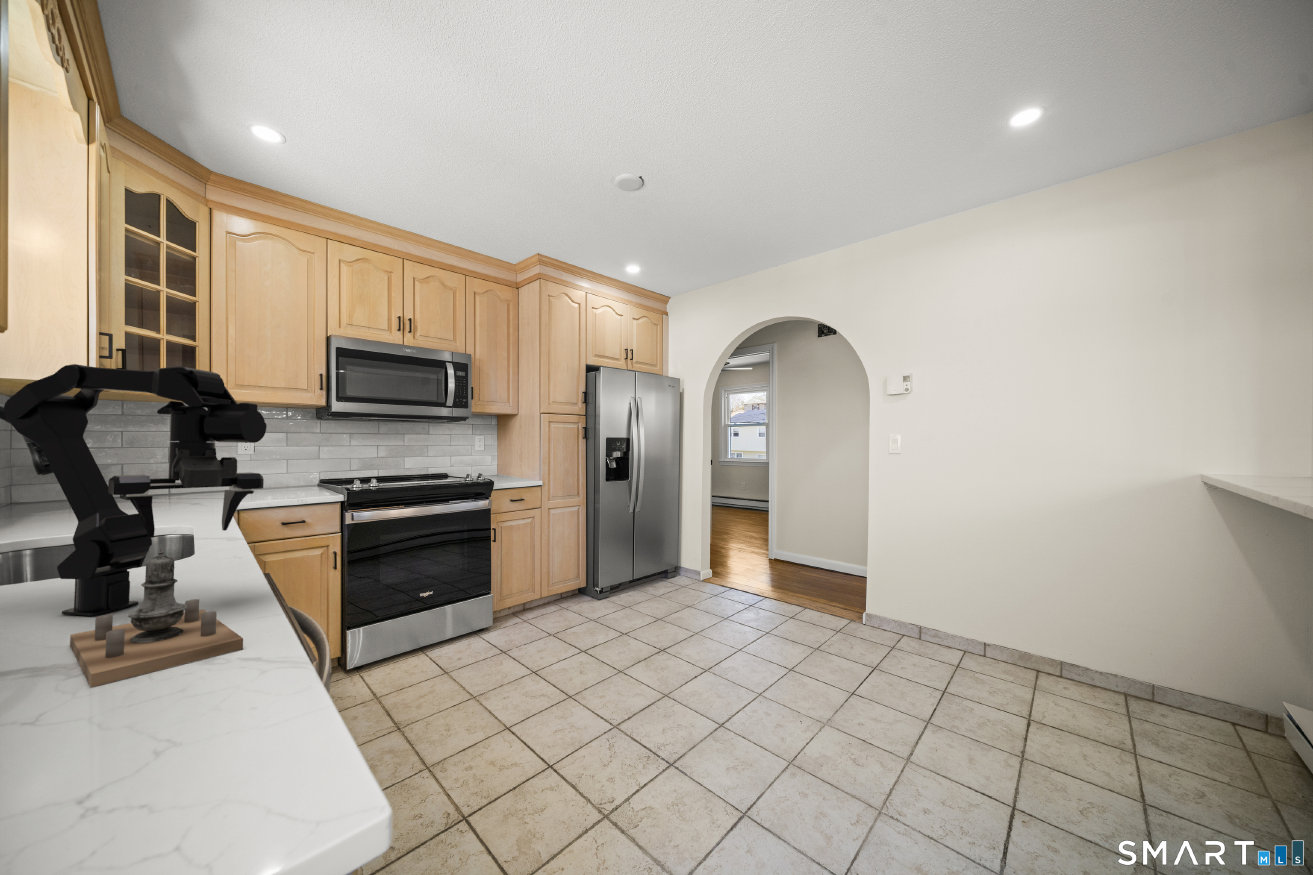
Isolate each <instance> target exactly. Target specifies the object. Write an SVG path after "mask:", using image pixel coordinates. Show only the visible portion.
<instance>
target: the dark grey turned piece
mask: <svg viewBox="0 0 1313 875" xmlns="http://www.w3.org/2000/svg"><path fill="white" fill-rule="evenodd" d="M164 553H165V551H164V550H163V549H161V548H160V550H159V551H158V552H157V554H158V555H156V556H154V557H151V558H149V559H148V560H147V561H146V565H145V579H144V580H145V581H144V582H142V583H141V587H143V588H144V589H143V601H142V604H141V605H140V606H139V608H137V609H136V610H132V611H130V612H129V613H128V614H127V617H128V618H130V623H132V625H133V626H134V627H135V628H136V629H138V630H140V631H144V632H141V633H138V634H137V635H135V636H134V637H132V638H131V639H130V642H132V643H149V642H156V641H161V640H166V639H169V638H173V637H176V636H178V635H180V634H182V633H183V629H181V628H178V627H171V626H173V625H175V624H176V623H177V622H179V621H180V620H181V618H182V616H183V614H184V613H185V609H186V608H187V605H186V604H185V603H179V602H177V601H176V600H177V599H176V598H175V584H176V583H177V582H178V579H177V578H175V558H173V557H172V556H170V555H166V554H164Z"/></svg>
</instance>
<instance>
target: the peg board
mask: <svg viewBox="0 0 1313 875" xmlns="http://www.w3.org/2000/svg"><path fill="white" fill-rule="evenodd" d="M184 604H186V605H187V608H186V609H185V610H184V614H183V616H182V618H181V620H180V621H179V622H177V623H176V624H175V625H173V626H171V627H178V628H181V629H183V633H182V634H180V635H178V636H176V637H173V638H169V639H166V640H161V641H156V642H149V643H132V642H130V639H131V638H132V637H134V636H135V635H137V634H138V633H141V632H144V631H140V630H138V629H136V628H135V627H134V626H133V625H132V623H131V622H130V623H124V624H120V625H114V624H113V619H114V615H113V614H111V613H110V614H101V615H97V616H95V621H94V622H95V625H94V629H93V630H92V629H91V630H87V631H82V632H77V633H71V634H70V638H69V639H70V640H69V646H70V648H71V650H72V652H73V654H74V657H75V658H76V661H77V662H78V664H79V667H80V669H81V671H82V673H83V675H84V676H85V679H86V681H87V682H88V684H89V687H90V688H93V687H97V686H98V687H99V686H101V685H106V684H109V683H113V682H118V681H121V680H125V679H126V680H127V679H129V678H130V679H131V678H133V677H138V676H141V675H145V674H149V673H153V672H157V671H162V670H165V669H169V668H174V667H177V666H181V665H185V664H190V663H194V662H198V661H202V660H206V659H209V658H214V657H217V656H221V655H224V654H225V655H226V654H230V653H233V652H237V651H241V650H244V637H242V636H241V635H239V634H238V633H236V632H235V631H234V630H232V629H231V628H230V627H229V626H227V625H225V624H224V623H223V622H221V621H220V620H219V619H218V618H217V613H218V612H217V610H209V611H206V610H205V609H200V599H199V598H195V599H189V600H185V601H184ZM113 625H114V626H113Z"/></svg>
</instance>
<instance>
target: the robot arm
mask: <svg viewBox="0 0 1313 875" xmlns="http://www.w3.org/2000/svg"><path fill="white" fill-rule="evenodd" d="M74 389H78V390H79V391H78V392H77V393H76V394H74V395H69V394H66V393H68V392H70V391H72V390H74ZM105 390H106V391H119V392H133V393H143V394H144V393H145V394H147V393H148V394H153V395H155V396H157V397H160V398H165V399H169V400H170V401H168V403H167V404H166V405H164V406H162V407H160V408H159V409H158V410H156V413H157V414H158V415H164V416H165V415H166V416H168V415H169V416H170V422H169V423H170V425H169V426H170V429H169V433H170V434H169V448H168V449H169V454H168V455H169V456H168V473H167V474H168V476H167V478H166V477H165V478H151V477H150V475H145V474H128V475H127V474H124V475H113V476H112V477H111V478H109V480H108V483H107V481H106V480H105V477H104V475H103V474H102V471H101V470H100V468H99V466H98V463H97V462H96V460H95V457H94V456H93V454H92V451H91V450H90V448H89V446H88V444H87V442H86V440H85V437H84V436H85V434H86V429H87V427H88V425H89V419H88V417H87V414H88V413H89V412H90V411H91V410H93V409H94V408H96V407H97V405H98V401H99V398H100V394H101V393H102V392H103V391H105ZM258 406H259V405H258V404H257V403H250V402H239V403H238V402H237V401H236V399H235V398H234V397H233V396H232V394H231V393H230V391H229V390H228V389H227V387H226V385H225V382H224V380H223V378H222V377H221V375H220V374H219V373H217V372H214V371H208V370H203V369H198V368H191V367H185V366H170V367H162V368H158V369H155V370H139V369H138V370H137V369H124V368H122V369H121V368H110V367H97V366H96V367H95V366H89V365H82V364H76V363H75V364H74V363H73V364H66V365H64V366H62V367H60V368H59V369H58V370H57V371H55V372H54V373H53V374H51V375H48V376H45V377H43V378H40V379H37V380H35V381H33V382H30V383H27V384H26V385H24V386H23V387H22V388H20V389H19V390H18V391H17V392H15V393H14V394H13V395H12V396H11V397H9V398H8V399H7V400H6V402H5V403H4V405H3V413H4V415H5V417H6V419H7V420H8V422H10V424H11V425H12V427H13V428H14V429H15V431H16V432H17V433H18V434H19V435H21V436H23V437H24V438H25V439H27V440H30V441H31V442H32V443H35V445H38V446H39V448H40V449H41V451H42V453H43V455H44V457H45V459H46V461H47V463H48V464H49V467H50V469H51V471H52V472H53V475H54V476H55V478H56V481H57V482H58V485H59V487H60V488H61V490H62V492H63V494H64V496H65V498H66V500H67V501H68V504H69V505H70V507H71V511H73V514H74V515H75V518H76V520H77V525H76V529H75V531H74V534H73V537H72V541H73V545H74V546H73V547H74V550H73V551H72V552H71V553H70V554H69V555H68V556H67V557H66V558H65V559H63V561H61V562H60V563H59V564H58V565H57V566H56V569H57V572H58V575H59V576H58V577H59V578H60V579H61V580H74V601H73V604H74V605H73V607H72V608H68V609H64V610H62V611H61V614H62V615H69V616H70V615H71V616H74V615H75V616H87V617H89V616H90V617H96V616H101V615H104V614H106V613H110V612H114V611H118V610H122V609H125V608H130V607H133V606H134V607H135V606H137V605H139V604H140V603H139V601H138V600H136V601H135V600H130V597H131V596H130V593H131V590H130V589H131V581H130V570H132V569H138V568H142V567H143V564H144V562H145V559H146V556H147V555H148V553H149V552H150V551H149V550H150V548H151V547H152V546H153V540H152V538H154V537H155V531H156V530H155V529H156V528H155V520H154V518H155V517H154V512H153V495H151V494H149V492H150V491H152V490H171V489H172V490H173V489H174V490H176V489H195V488H197V489H198V488H201V489H202V488H219V487H221V488H224V487H228V489H224V494H223V504H222V514H221V530H222V531H228V529H229V526H230V524H231V522H232V519H233V517H234V515H235V513H236V511H237V510H238V507H239V506H240V504H241V502H242V501H243V500H244V499H245V498H246V497H247V495H253V494H255V490H258V489H259V490H260V489H264V481H265V480H264V477H263V475H262V474H261V473H259V472H251V471H250V472H249V471H248V472H238V459H237V457H234V456H231V457H230V456H229V457H227V456H226V457H223V456H222V457H221V458H220V459H218V457H217V448H216V442H218V443H245V444H246V443H247V444H248V443H249V444H256V443H258V442H260V441H262V439H263V438H264V437H265V435H266V432H267V423H266V422H265V418H264V416H263V415H262V413H261V412H259V411H258ZM177 481H180V482H177ZM114 496H119V498H120V499H122V500H124V501H130V503H131V504H132V505H133V507H134V508H135V510H136V512H137V513H131V514H130V513H129V514H128V513H127V512H125V511H123V510H122V509H121V508H120V506H119V505H118V503H117V501H116V499H115V497H114Z"/></svg>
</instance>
